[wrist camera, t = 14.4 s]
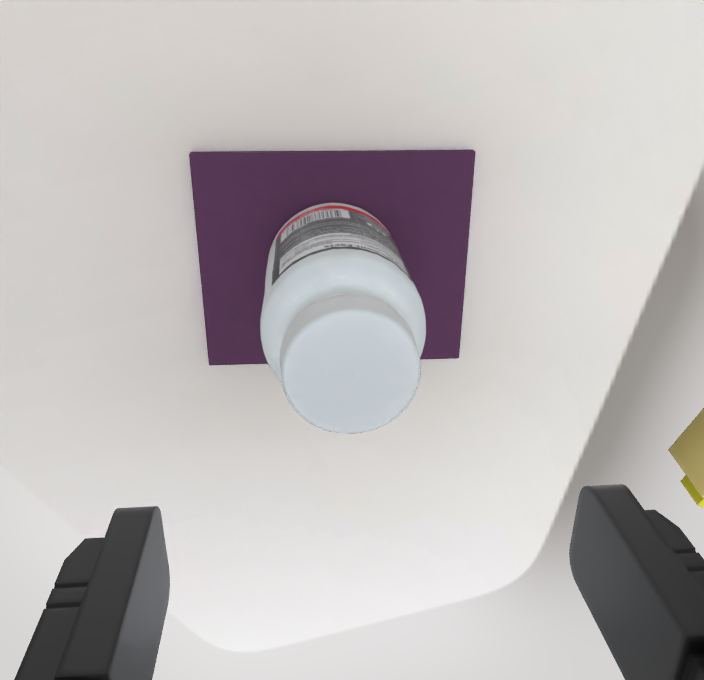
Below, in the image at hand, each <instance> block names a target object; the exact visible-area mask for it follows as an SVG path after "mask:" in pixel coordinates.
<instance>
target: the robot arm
mask: <svg viewBox="0 0 704 680" xmlns="http://www.w3.org/2000/svg"><path fill="white" fill-rule="evenodd" d="M569 554H570V565H571V570H572V574H573V577H574V579H575V582H576V584H577V586H578V588H579V590H580V592H581V594H582V596H583V598H584V600H585V602H586V604H587V606H588V608H589V609H590V611H591V613H592V615H593V617H594V619H595V621H596V623H597V625H598V627H599V629H600V631H601V633H602V635H603V637H604V639H605V641H606V643H607V645H608V647H609V649H610V651H611V653H612V655H613V657H614V659H615V660H616V662H617V664H618V666H619V668H620V670H621V672H622V674H623V676H624V678H625V680H704V559H703V558H702V557H701V555H700V554H699V553H696V551H695V547H693V545H692V544H691V542H690V541H689V540H688V538H687V537H686V536H685V534H684V533H683V532H682V531H681V529H680V528H679V527H678V526H676V525H675V524H674V523H672V522H671V521H669V520H668V519H667V518H665V517H664V516H663V515H661V514H660V513H658V512H657V511H656V510H644V509H643V508H642V506H641V505H640V504H639V502H638V501H637V499H636V498H635V497H634V495H633V494H632V493H631V491H630V490H629V489H628V488H627V487H626V486H625V485H600V486H585V487H583V488H582V489H581V491H580V494H579V499H578V505H577V510H576V516H575V521H574V527H573V533H572V538H571V543H570V553H569ZM169 587H170V576H169V565H168V559H167V552H166V545H165V538H164V531H163V525H162V518H161V512H160V509H159V507H157V506H154V507H134V508H117V509H116V510H115V511H114V513H113V516H112V519H111V521H110V524H109V527H108V530H107V532H106V535H105V538H88V539H84V540H83V541H82V543H81V544H80V545H79V546H78V547H77V548H76V549H75V550H74V551H73V552H72V553H71V554H70V555H69V556H68V557H67V558H66V559H65V560H64V563H63V565H62V567H61V570H60V572H59V575H58V577H57V580H56V582H55V587H54V589H52V591H51V594H50V596H49V599H48V601H47V603H46V609H44V610H43V613H42V615H41V618H40V620H39V622H38V625H37V627H36V630H35V632H34V634H33V637H32V639H31V641H30V644H29V646H28V648H27V651H26V653H25V656H24V658H23V661H22V663H21V665H20V668H19V670H18V672H17V675H16V677H15V679H14V680H152V677H153V673H154V667H155V663H156V658H157V654H158V648H159V644H160V639H161V635H162V630H163V625H164V620H165V615H166V611H167V606H168V600H169Z"/></svg>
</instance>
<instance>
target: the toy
mask: <svg viewBox="0 0 704 680" xmlns="http://www.w3.org/2000/svg"><path fill="white" fill-rule="evenodd" d="M669 451H670V453H671V454H672V456H673V457H674V458H675V460H676V461H677V463H678V464H679V465H680V467H681V468H682V470H683V471H684V472H685V474H686V476H685V477H684V478H683V479H682V480H681V482H682V484H683V485H684V487H685V488H686V489H687V491H688V492H689V494H690V495H691V497H692V498H693V499H694V501H695V502H696V504H697V505H698V506H701V507H704V408H703V410H702V411H701V412H700V413H699V414H698V416H697V417H696V418H695V419H694V420H693V421H692V423H691V424H690V425H689V426H688V427H687V428H686V430H685V431H684V432H683V433H682V434H681V436H680V437H679V438H678V439H677V440H676V441H675V443H674V444H673V445H672V446H671V447H670V448H669Z"/></svg>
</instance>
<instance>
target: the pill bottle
mask: <svg viewBox="0 0 704 680" xmlns="http://www.w3.org/2000/svg"><path fill="white" fill-rule="evenodd" d="M260 334H261V342H262V347H263V351H264V354H265V357H266V360H267V362H268V364H269V366H270V368H271V369H272V371H273V372H274V374H275V376H276V377H277V378H278V379H279V380H280V382H281V383H282V384H283V388H284V391H285V394H286V396H287V398H288V400H289V402H290V403H291V405H292V406H293V408H294V409H295V410H296V411H297V413H298V414H299V415H300V416H302V417H303V418H304V419H305V420H307V421H308V422H310V423H311V424H313V425H315V426H317V427H319V428H322V429H324V430H327V431H331V432H336V433H348V434H353V433H361V432H366V431H370V430H374V429H377V428H379V427H381V426H383V425H385V424H387V423H389V422H390V421H392V420H393V419H395V418H396V417H397V416H398V415H399V414H400V413H401V412H402V411H403V410H404V409H405V408H406V407H407V406H408V404H409V403H410V402H411V400H412V398H413V396H414V394H415V392H416V390H417V388H418V384H419V380H420V374H421V363H420V357H421V354H422V351H423V348H424V344H425V337H426V318H425V312H424V307H423V303H422V300H421V297H420V295H419V293H418V290H417V287H416V285H415V284H414V281H413V280H412V278H411V275H410V273H409V271H408V270H407V267H406V265H405V263H404V261H403V259H402V257H401V255H400V253H399V250H398V248H397V246H396V244H395V242H394V240H393V239H392V237H391V235H390V233H389V232H388V230H387V229H386V228H385V226H384V225H383V224H382V223H381V222H380V221H379V220H378V219H376V218H375V217H374V216H373V215H371V214H370V213H368V212H367V211H365V210H363V209H361V208H359V207H355V206H352V205H348V204H343V203H324V204H319V205H315V206H312V207H309V208H307V209H305V210H303V211H301V212H299V213H297V214H296V215H294V216H293V217H292V218H290V219H289V220H288V221H287V222H286V223H285V224H284V225H283V227H282V228H281V229H280V230H279V232H278V233H277V235H276V237H275V239H274V241H273V243H272V246H271V248H270V252H269V257H268V262H267V269H266V276H265V291H264V300H263V305H262V311H261V318H260Z"/></svg>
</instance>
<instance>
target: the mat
mask: <svg viewBox="0 0 704 680" xmlns="http://www.w3.org/2000/svg"><path fill="white" fill-rule="evenodd" d="M189 156H190V167H191V178H192V188H193V199H194V209H195V220H196V231H197V241H198V252H199V262H200V273H201V284H202V294H203V305H204V316H205V326H206V337H207V347H208V358H209V365H234V364H268V362H267V360H266V357H265V354H264V351H263V347H262V342H261V334H260V318H261V311H262V305H263V300H264V291H265V276H266V269H267V262H268V257H269V252H270V248H271V246H272V243H273V241H274V239H275V237H276V235H277V233H278V232H279V230H280V229H281V228H282V227H283V225H284V224H285V223H286V222H287V221H288V220H289V219H290V218H292V217H293V216H294V215H296V214H297V213H299V212H301V211H303V210H305V209H307V208H309V207H312V206H315V205H319V204H324V203H343V204H348V205H352V206H355V207H359V208H361V209H363V210H365V211H367V212H368V213H370V214H371V215H373V216H374V217H375V218H376V219H378V220H379V221H380V222H381V223H382V224H383V225H384V226H385V228H386V229H387V230H388V232H389V233H390V235H391V237H392V239H393V240H394V242H395V244H396V246H397V248H398V250H399V253H400V255H401V257H402V259H403V261H404V263H405V265H406V267H407V270H408V271H409V273H410V275H411V278H412V280H413V281H414V284H415V285H416V287H417V290H418V293H419V295H420V297H421V300H422V303H423V307H424V312H425V318H426V337H425V344H424V348H423V351H422V354H421V357H420V359H446V358H459V349H460V337H461V324H462V312H463V300H464V287H465V275H466V262H467V250H468V237H469V225H470V212H471V200H472V187H473V175H474V162H475V151H473V150H399V151H255V152H191V153H190V154H189Z"/></svg>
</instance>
